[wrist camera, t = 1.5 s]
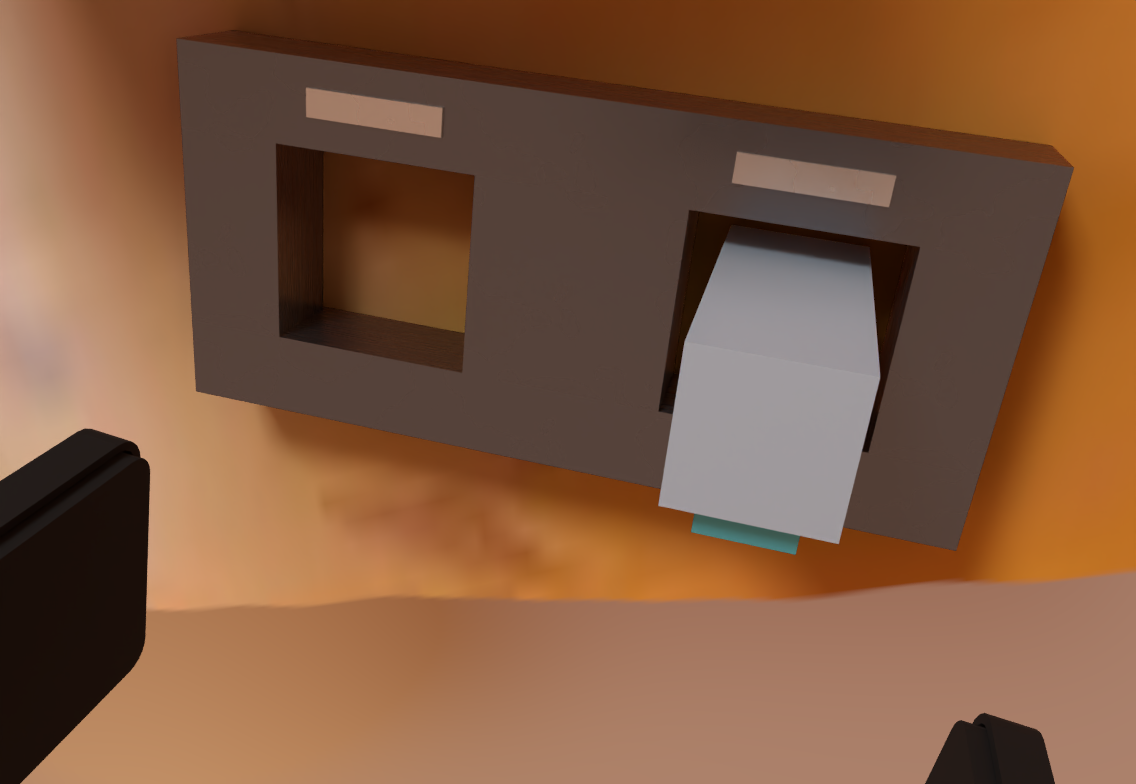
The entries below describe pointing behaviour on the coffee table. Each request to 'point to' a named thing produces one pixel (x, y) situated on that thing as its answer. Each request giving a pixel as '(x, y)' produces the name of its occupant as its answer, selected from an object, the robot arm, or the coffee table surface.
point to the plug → (775, 391)
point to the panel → (595, 258)
